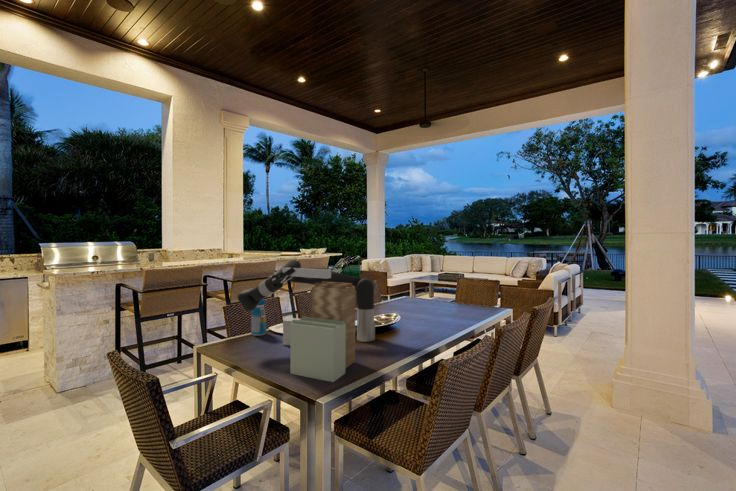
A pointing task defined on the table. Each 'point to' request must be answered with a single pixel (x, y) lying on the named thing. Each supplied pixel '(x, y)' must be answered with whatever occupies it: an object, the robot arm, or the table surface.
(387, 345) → the table surface
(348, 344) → the oak stand
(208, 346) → the table surface
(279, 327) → the plate
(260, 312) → the beverage bottle
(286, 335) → the supplement box
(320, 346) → the sage dock
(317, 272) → the steel bar
